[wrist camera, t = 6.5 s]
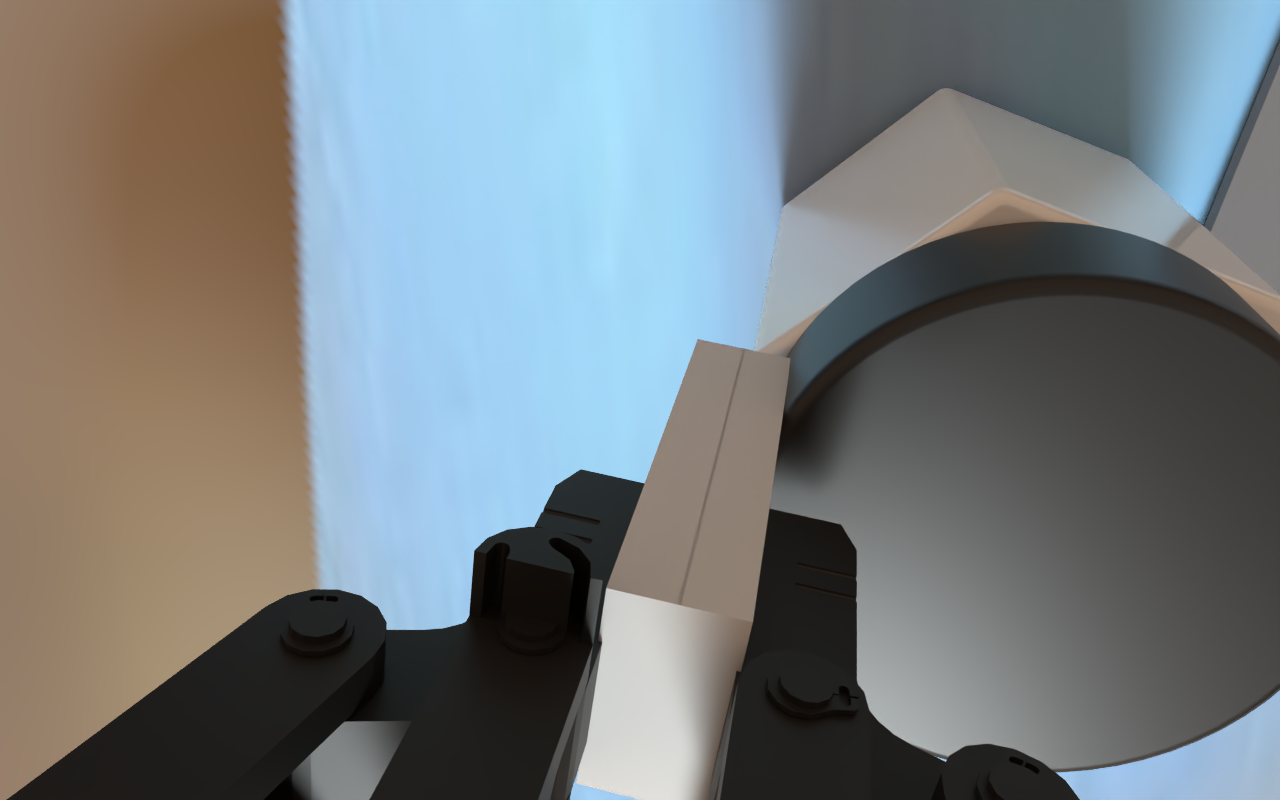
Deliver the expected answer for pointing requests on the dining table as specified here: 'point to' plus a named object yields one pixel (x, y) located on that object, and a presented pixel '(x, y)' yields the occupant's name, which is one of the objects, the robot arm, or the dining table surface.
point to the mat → (1254, 186)
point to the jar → (1032, 439)
